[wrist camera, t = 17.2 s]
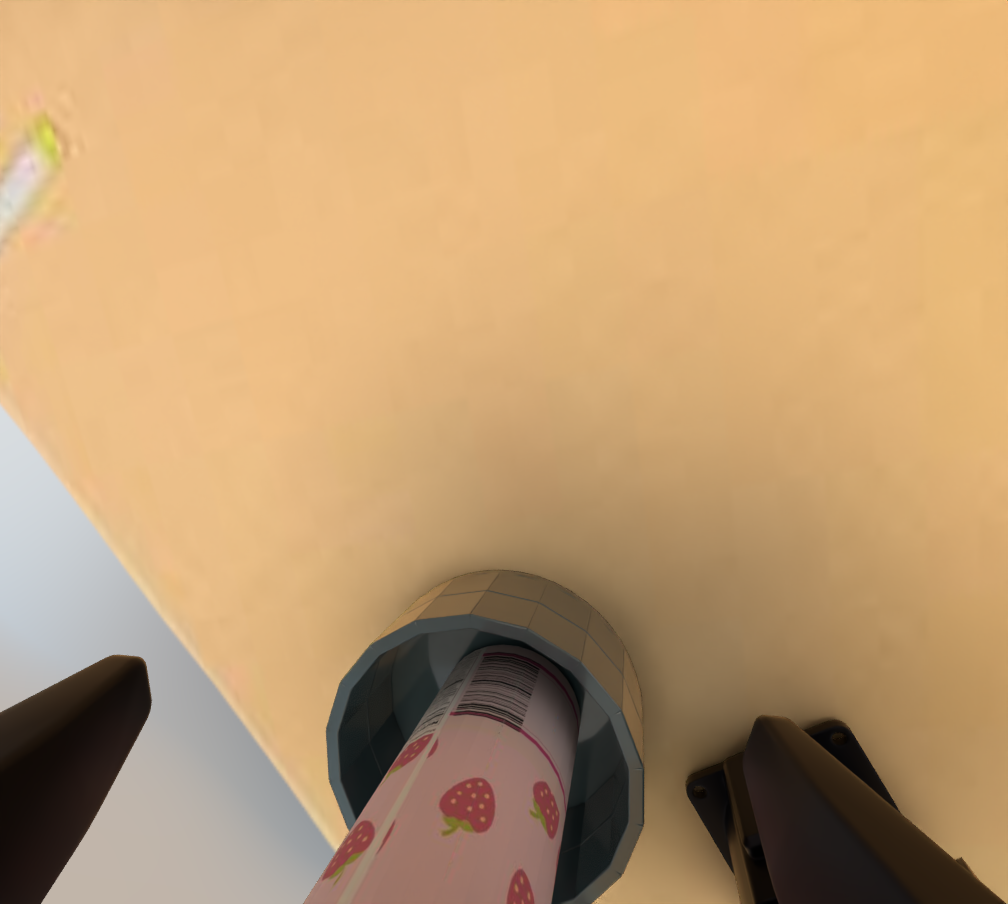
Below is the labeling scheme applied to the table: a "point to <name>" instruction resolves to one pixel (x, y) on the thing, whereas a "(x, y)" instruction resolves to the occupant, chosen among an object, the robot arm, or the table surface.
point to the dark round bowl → (531, 625)
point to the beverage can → (469, 794)
